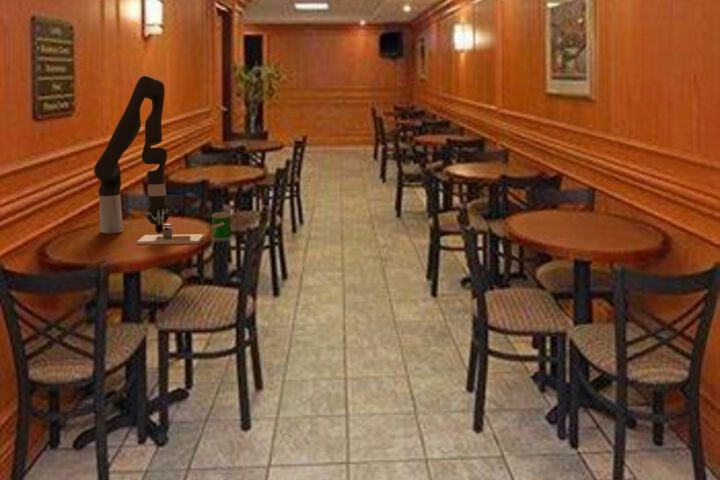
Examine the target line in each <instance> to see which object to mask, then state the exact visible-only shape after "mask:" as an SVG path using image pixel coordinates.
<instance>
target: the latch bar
mask: <svg viewBox="0 0 720 480" xmlns="http://www.w3.org/2000/svg"><path fill="white" fill-rule="evenodd" d="M162 235H163V238H164V239H170V238H173V236H172V235H173V229H172V224H171V223H165V224H164V228H163V231H162Z"/></svg>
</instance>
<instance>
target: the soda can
mask: <svg viewBox="0 0 720 480" xmlns="http://www.w3.org/2000/svg"><path fill="white" fill-rule="evenodd" d="M230 216H231V215H230V214H229V212H227V211H216V212H213V214H211V222H212V226H211V227H212V238H213V240H214V241H215V242H229V240H230V239H231V235H232V234H231V217H230Z"/></svg>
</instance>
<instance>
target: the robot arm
mask: <svg viewBox="0 0 720 480" xmlns="http://www.w3.org/2000/svg"><path fill="white" fill-rule="evenodd" d="M165 89H166V88H165V84H164V83H163V81H161V80H159V79H156V78H154V77H153V76H149V75H141V76H140V77H139V79H138V81H137V82H136V84H135V86H134V89H133V91H132V94H131V97H130V98H129V102H128V103H127V106H126V108H125V110H124V112H123V114H122V115H121V118H120V119H119V121H118V123H117V125H116V127H115V129H114V131H113V133H112V136H110V137H111V138H110V139H109V142H108V143H107V146H106V148H105V150H104V151H103V153H102V155H101V156H100V157H99V159H98V161H97V162H96V163H95V165H94V170H93V171H94V176H95V177H96V179H97V180H98V181H99V180H100V185H99V188H98V190H97V191H98V199H99V200H98V202H99V211H98V218H99V219H98V221H99V230H100V232H101V233H103V234H108V235H110V234H118V233H122V232H123V230H124V227H123V214H122V213H123V212H122V202H121V201H122V200H121V187H122V180H121V179H122V178H121V167H120V164H119V161H120V160H121V157H122V156H123V155H124V153H125V152H126V151H127V150H128V148H129V147H130V146H131V145H132V144H133V142H134V141H135V139H136V138H137V135H138V134H139V132H140V130H141V124H142V121H141V119H142V118H141V107H142V104H143V102H144V100H145V99H148V100H150V101H151V105H152V106H151V107H152V108H151V111H150V113H149V115H148V116H147V117H146V120H145V125H144V136H145V137H144V144H143V145H144V146H143V147H142V148H143V149H142V152H141V160H142V162H143V164H145V165H158V167H157V168H156V167H155V168H153V169H150V170H148V171H147V174H146V175H147V198H148V200H147V201H148V202H147V203H148V205H149V206H148V207H149V208H148V212H147V213H144V216H145V218H146V219H147V220H148V221H149V223H150V224H151V225H154V229H155V233H157V234H163V229H164V227H163V226H164V223H165V224H167V221H168V219H169V218H170V216H171V214H172V210H169V209H168V206H167V189H166V182H165V167H166V164H167V160H168V151H167V149H166V148H164V147H152V146H156V145H159V144H161V143H162V142H163V129H162V120H163V119H162V117H163V111H164V110H163V109H164V101H165V93H166V91H165Z"/></svg>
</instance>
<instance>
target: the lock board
mask: <svg viewBox="0 0 720 480" xmlns="http://www.w3.org/2000/svg"><path fill="white" fill-rule="evenodd" d="M172 236H173V238H170V239H164V238H163V234H144V235H143V236H141V238H140V239H138V240H137V241H136V245H173V244H174V245H175V244H176V245H178V244H181V245H183V244H184V245H185V244H193V245H194V244H199V243H201V241H202V240H203V239H204V238H205V234H204V233H203V234H202V233H200V234H199V233H197V234H196V233H195V234H193V233H191V234H186V233H185V234H172Z"/></svg>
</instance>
